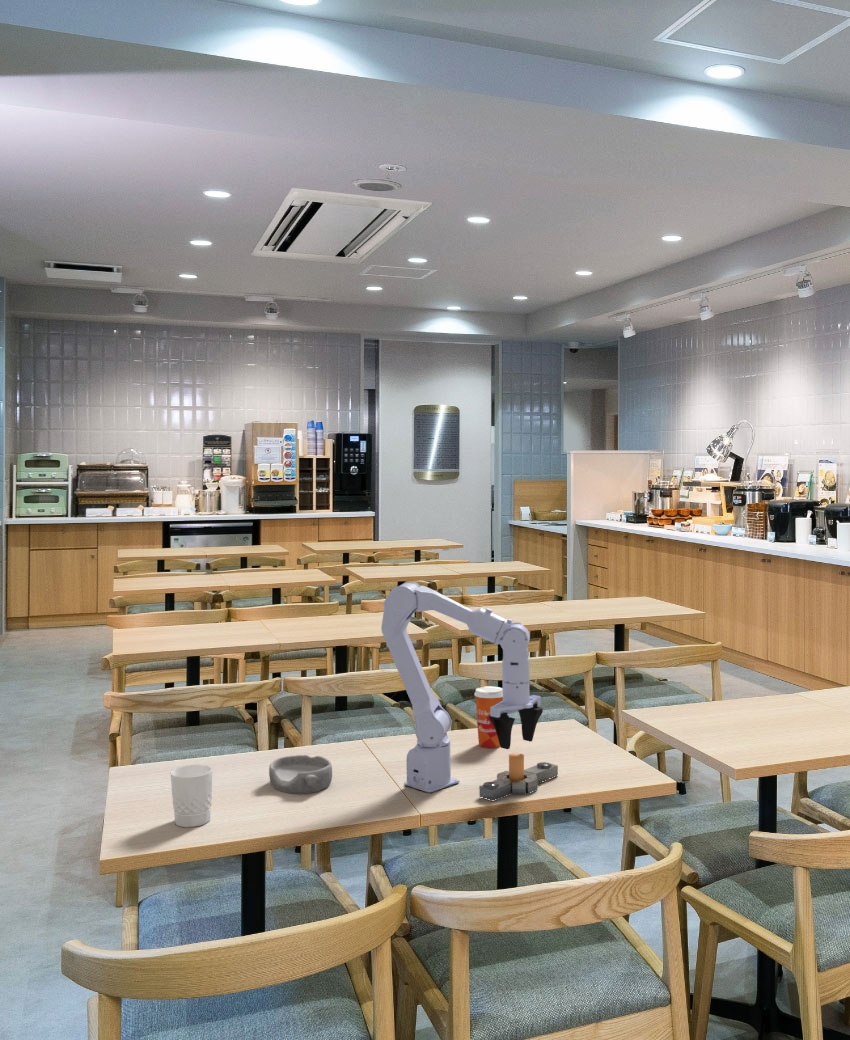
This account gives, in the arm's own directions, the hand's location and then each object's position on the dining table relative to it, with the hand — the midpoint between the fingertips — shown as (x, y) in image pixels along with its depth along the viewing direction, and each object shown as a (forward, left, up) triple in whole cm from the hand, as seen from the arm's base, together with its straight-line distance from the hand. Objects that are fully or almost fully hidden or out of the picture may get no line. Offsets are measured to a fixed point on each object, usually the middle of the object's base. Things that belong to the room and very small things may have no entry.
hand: (516, 744), depth 194 cm
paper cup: (+20, +25, -10) cm, 33 cm away
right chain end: (+4, 0, -9) cm, 10 cm away
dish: (-30, +36, -10) cm, 48 cm away
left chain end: (-3, 0, -9) cm, 10 cm away
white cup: (-58, +34, -10) cm, 68 cm away
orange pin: (0, 0, -9) cm, 9 cm away
